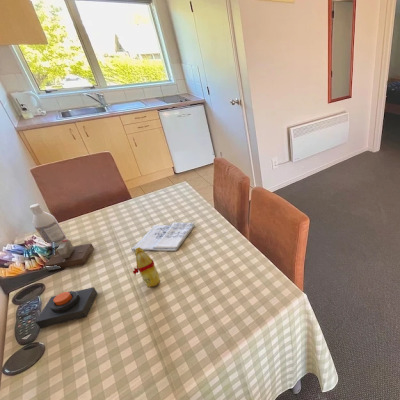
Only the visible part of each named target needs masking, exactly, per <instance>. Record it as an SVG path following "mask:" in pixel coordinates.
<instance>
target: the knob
mask: <svg viewBox="0 0 400 400" xmlns="http://www.w3.org/2000/svg"><path fill="white" fill-rule="evenodd" d="M73 246H74V245H73V244H72V242H71V240H70V239H68V240H63V241H62V243H61V244H60V245H59V247H58V248H56V250H57V251H58V252H59V254H60V255H61V257H62V258H63V259H64V258H69V257H70V255H71V254H72V252H73V251H74V247H73Z"/></svg>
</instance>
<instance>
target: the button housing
mask: <svg viewBox="0 0 400 400" xmlns="http://www.w3.org/2000/svg"><path fill="white" fill-rule="evenodd" d="M68 292H69V293H70V294H71V296H72V299H71V300H70V301H69V302H67V303H65V304H63V305H60V306H58V305H56V304H55V302H54V301H53V300H54V298H55V297H56V296H57V295H53V296H51V297H50V298H49V300H48V301H47V303H46V304H45V306H44V308H43V309H42V310H41V312H40V314H39V315H38V317H37V318H36V320H35V324H36V325H37V326H38V328H40V329H44V328H48V327H52V326H56V325H60V324H64V323H68V322H72V321H77V320H80V319H84V318H87V317H88V315H89V313H90V311H91V309H92V307H93V305H94V302H95V300H96V299H97V296H98V294H99V293H98V291H97V289H96V288H95V287H94V286H92V287H87V288H84V289H80V290H70V291H68Z"/></svg>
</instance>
